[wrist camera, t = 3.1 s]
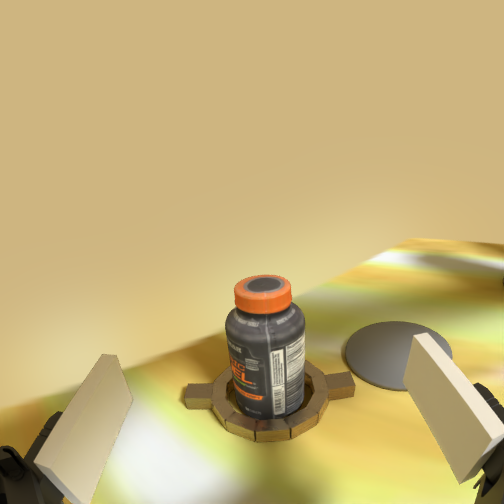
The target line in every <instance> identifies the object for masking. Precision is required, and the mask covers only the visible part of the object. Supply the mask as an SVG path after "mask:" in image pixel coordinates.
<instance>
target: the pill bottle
mask: <svg viewBox="0 0 504 504" xmlns="http://www.w3.org/2000/svg"><path fill="white" fill-rule="evenodd" d="M234 293H235V305H236V307H235V308H234V309H233V310H231V312H230V313H229V314H228V316H227V319H226V323H225V329H226V335H227V342H228V349H229V355H230V363H231V369H232V376H233V382H234V388H235V394H236V401H237V404H238V406H239V408H240V410H241V411H242V412H243V413H244V414H246V415H247V416H249V417H251V418H254V419H257V420H271V419H283V418H286V417H288V416H290V415H292V414H293V413H295V412H296V411H297V410H298V409H299V408H300V406H301V405H302V403H303V399H304V373H305V318H304V314H303V312H302V311H301V309H300V308H299V307H298V306H297V305H295V304H294V303H292V302H291V301H292V295H291V285H290V283H289V281H288V280H286V279H285V278H283V277H280V276H276V275H258V276H252V277H248V278H246V279H243V280H241V281H240V282H238V283H237V284H236V285H235V288H234Z"/></svg>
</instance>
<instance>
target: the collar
mask: <svg viewBox="0 0 504 504" xmlns="http://www.w3.org/2000/svg"><path fill="white" fill-rule="evenodd" d="M304 383H305V384H307V385H308V386H309V387H310V388H311V390H312V395H313V396H312V398H311V399H310V401H309V403H308V405H307V406H306V407H305V408H303V409H302V410H300V411H298V412H296V413H294V414H292V415H290V416H289V417H287V418H283V419H271V420H256V419H253V418H251V417H248V416H245V415H242V414H239V413H237V412H236V411H235V410H234V409H233V408H232V406H231V405H230V404H229V402H228V396H229V393H230V392H231V391H232V390H233V389H234V382H233V376H232V369H231V366H229V367H228V368H227V369H226V370H225V371H224V372H223V373H222V374H221V375H220V376H219V377H218V378H217V379H216V380H215V381H214V383H213V384H188V386H187V389H186V393H185V397H184V399H185V402H186V406H187V409H213V412H214V414H215V415H216V416H217V418H218V419H219V421H220V422H221V423H222V425H223V426H224V428H225V429H226V430H228V432H231V433H233V434H235V435H238V436H241V437H243V438H246V439H248V440H251V441H254V442H255V441H256V440H257V442H270V441H283V440H290V438H291V439H293V438H295V437H297V436H298V435H300V434H302V433H304V432H305V431H307V430H309V429H311V428H312V427H314V426H316V425H317V423H319V421H320V419H321V417H322V415H323V413H324V411H325V409H326V407H327V405H328V402H329V400H336V399H342V398H348V397H354V391H355V383H354V381H353V378H352V376H351V373H350V371H349V372H343V373H336V374H329V375H324V373H323V372H322V371H321V370H319V369H318V368H316V367H315V366H314V365H312V364H311V363H309V362H308V361H307V360H305V373H304Z"/></svg>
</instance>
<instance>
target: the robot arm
mask: <svg viewBox="0 0 504 504" xmlns="http://www.w3.org/2000/svg"><path fill="white" fill-rule="evenodd" d="M503 284H504V278H503ZM403 384H404V385H405V387H406V389H407V390H408V392H409V394H410V395H411V397H412V399H413V400H414V402H415V404H416V406H417V407H418V409H419V411H420V412H421V414H422V416H423V418H424V419H425V421H426V423H427V425H428V426H429V428H430V430H431V432H432V434H433V435H434V437H435V439H436V441H437V443H438V445H439V446H440V448H441V450H442V452H443V454H444V456H445V458H446V459H447V461H448V463H449V465H450V467H451V469H452V471H453V473H454V475H455V477H456V479H457V481H458V483H459V484H461V483H463V482H465V481H467V480H469V479H471V478H473V477H475V476H476V475H477V473H478V472H479V471H480V470H481V468H482V469H483V471H484V472H485V473H484V474H483V475H482V477H481V478H480V479H479V480H478V481H477V483H476V484H475V485H474V487H473V489H476V487H477V486H478V485H479V484H480V486H479V490H478V493H477V497H476V500H475V503H474V504H504V408H503V407H502V405H501V404H499V402H498V400H497V399H496V398H494V396H493V394H492V393H491V392H490V391H489V390H488V388H486V387H484V386H483V385H481V384H479V383H476V384H473V385H472V384H471V382H470V381H469V380H468V379H467V378H466V376H465V375H464V374H463V373H462V372H461V370H460V369H459V368H458V367H457V366H456V365H455V363H454V362H453V361H452V360H451V359H450V358H449V356H448V355H447V354H446V353H445V352H444V351H443V350H442V348H441V347H440V346H439V345H438V344H437V343H436V342H435V340H434V339H433V338H432V337H431V336H430V335H429V334H428V333H422V334H417V335H413V340H412V345H411V349H410V354H409V358H408V362H407V366H406V370H405V374H404V378H403ZM132 401H133V398H132V396H131V393H130V391H129V388H128V385H127V383H126V380H125V377H124V375H123V372H122V369H121V367H120V364H119V361H118V358H117V355H107V354H102V355H101V357H100V358H99V360H98V361H97V363H96V364H95V366H94V367H93V368H92V370H91V371H90V373H89V374H88V376H87V377H86V379H85V380H84V382H83V383H82V385H81V386H80V388H79V389H78V391H77V392H76V394H75V395H74V397H73V398H72V400H71V401H70V403H69V405H68V406H67V408H66V409H65V411H64V412H59V411H58V412H56V413H55V414H54V415H53V416H51V417H50V418H49V419H48V421H47V422H46V424H45V425H44V429H42V430H41V432H40V433H39V436H37V438H36V440H35V441H34V443H33V444H32V446H31V448H30V449H29V451H28V452H27V454H26V456H25V457H24V459H23V458H22V457H21V456H20V455H19V453H18V452H17V451H16V450H15V449H14V448H13V447H10V446H1V447H0V504H64V503H63V501H62V500H63V497H64V496H65V497H66V498H67V499H68V500H69V501H70V502H71V503H73V504H90V502H91V500H92V497H93V495H94V492H95V489H96V487H97V484H98V482H99V479H100V477H101V474H102V472H103V469H104V467H105V464H106V462H107V459H108V457H109V455H110V452H111V450H112V447H113V445H114V443H115V440H116V438H117V436H118V433H119V431H120V429H121V426H122V424H123V422H124V419H125V417H126V415H127V412H128V410H129V408H130V406H131V403H132Z"/></svg>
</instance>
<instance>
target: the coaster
mask: <svg viewBox="0 0 504 504" xmlns="http://www.w3.org/2000/svg"><path fill="white" fill-rule="evenodd" d="M422 333H428V334H429V335H430V336H431V337H432V338H433V339H434V340H435V342H436V343H437V344H438V345H439V346H440V347H441V348H442V350H443V351H444V352H445V353H446V354H447V355H448V356H449V358H450V359H451V360H452V351H451V348H450V346H449V344H448V343H447V341H446V340H445V339H444V338H443V337H442V336H441V335H439V334H438V333H437V332H435V331H433V330H431V329H429V328H427V327H424V326H421V325H418V324H414V323H408V322H398V321H391V322H381V323H376V324H372V325H369V326H366V327H364V328H362V329H360V330H358V331H357V332H356V333H354V334H353V335H352V336H351V338H350V339H349V341H348V342H347V345H346V360H347V363H348V365H349V367H350V368H351V370H352V371H353V372H354V373H355V374H356V375H357V376H358V377H360V378H361V379H363V380H364V381H366V382H368V383H370V384H372V385H374V386H377V387H380V388H383V389H388V390H394V391H408V390H407V389H406V387H405V385H404V384H403V378H404V374H405V370H406V366H407V362H408V358H409V354H410V349H411V345H412V340H413V335H417V334H422Z"/></svg>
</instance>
